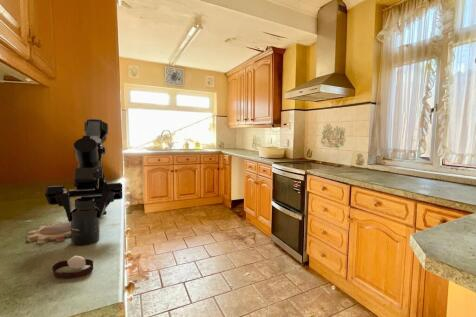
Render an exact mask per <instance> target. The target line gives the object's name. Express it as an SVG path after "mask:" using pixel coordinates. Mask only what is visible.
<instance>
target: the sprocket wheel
mask: <svg viewBox="0 0 476 317" xmlns="http://www.w3.org/2000/svg"><path fill="white" fill-rule="evenodd" d="M36 228H37V229H35V230H33V229H32V230H29V231H28V232H27V236H26V237H27V238H26V240H27V242H29V243H31V242H35V241H36V242H37V244H46V243H48V242H49V241H56V243H58V242H64V241H65V240H66V238H71V221H70V222H69V221H68V222H61V221H56V222H53V224H50V225H40V226H38V227H36Z"/></svg>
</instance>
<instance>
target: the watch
mask: <svg viewBox="0 0 476 317" xmlns="http://www.w3.org/2000/svg"><path fill="white" fill-rule="evenodd" d="M85 266H88V267H87V268H85V269H82V268H84V267H85ZM65 267H70V268H72V269H74V270H75V269H77V271H71V272H69V271H68V272H63V271H62V272H58V270H60V269H62V268H65ZM78 269H82V270H78ZM51 270H52V273H53V277H55V278H56V277H57V278H56V279H61V278H62V279H63V280H70V279H77V278H83V277H85V276H88V275H89V274H91V273H92V272H93V271H94V261H93V260H92V259H88V258H85V257H83V256H80V255H74V256H72V257H71V258H69V259H66V260H65V259H64V260H61V261H58V262H56V263H55V264H54V265H52V268H51Z"/></svg>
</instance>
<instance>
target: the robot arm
mask: <svg viewBox="0 0 476 317" xmlns="http://www.w3.org/2000/svg"><path fill="white" fill-rule="evenodd" d="M83 124H84V126H83V127H84V130H83V132H84V133H85V135H82V138H79V139H76V140H75V142H74V143H73V152H74V155H75V158H76V161H77V163H78V165H77V166H78V167H75V168H74V171H73V174H74V175H73V180H74V182H73V187H75V189H68V188H65V185H49V186H48V187H46V188H45V190H44V196H45V198H46V201H47V203H48V204H49V205H53V206H54V205H58V207H63V209H64V211H65V213H66V214H65V215H66V217H67V221H68V222H70V221H71V216H70V215H71V212H72V201H71V198H75V197H77V198H83V197H94V198H95V203H96V205H94V206H95V207H97V208H98V209H99V219H102V217H103V215H105V214H107V211H106V209H107V208H108V206H109V205H110V204H111V203H113V202H115V201H117V200H122V199H123V183H122V182H108V181H106V177H105V173H104V167H103V166H102V161H103V160H102V156H104V155H105V154H106V152H107V149H106V147H105V146H104V143H105V142H106V141H107V135H109V124H108V123H106V122H104V121H103V119H100V118H87V119H86V121H85V122H84V123H83Z"/></svg>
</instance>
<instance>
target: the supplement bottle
mask: <svg viewBox="0 0 476 317" xmlns="http://www.w3.org/2000/svg"><path fill="white" fill-rule="evenodd" d="M94 205H96V203H95V198H94V197H83V198H81V197H77V198H76V199H75V200H74V209H71V215H70V216H71V236H70V243H71V244H72V245H73V246H81V247H82V246H87V245H91V244H94V243H97V242H98V240H99V239H100V236H101V235H100V234H101V232H100V219H101V218H100V219H99V209H98V208H97V207H95V206H94Z"/></svg>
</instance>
